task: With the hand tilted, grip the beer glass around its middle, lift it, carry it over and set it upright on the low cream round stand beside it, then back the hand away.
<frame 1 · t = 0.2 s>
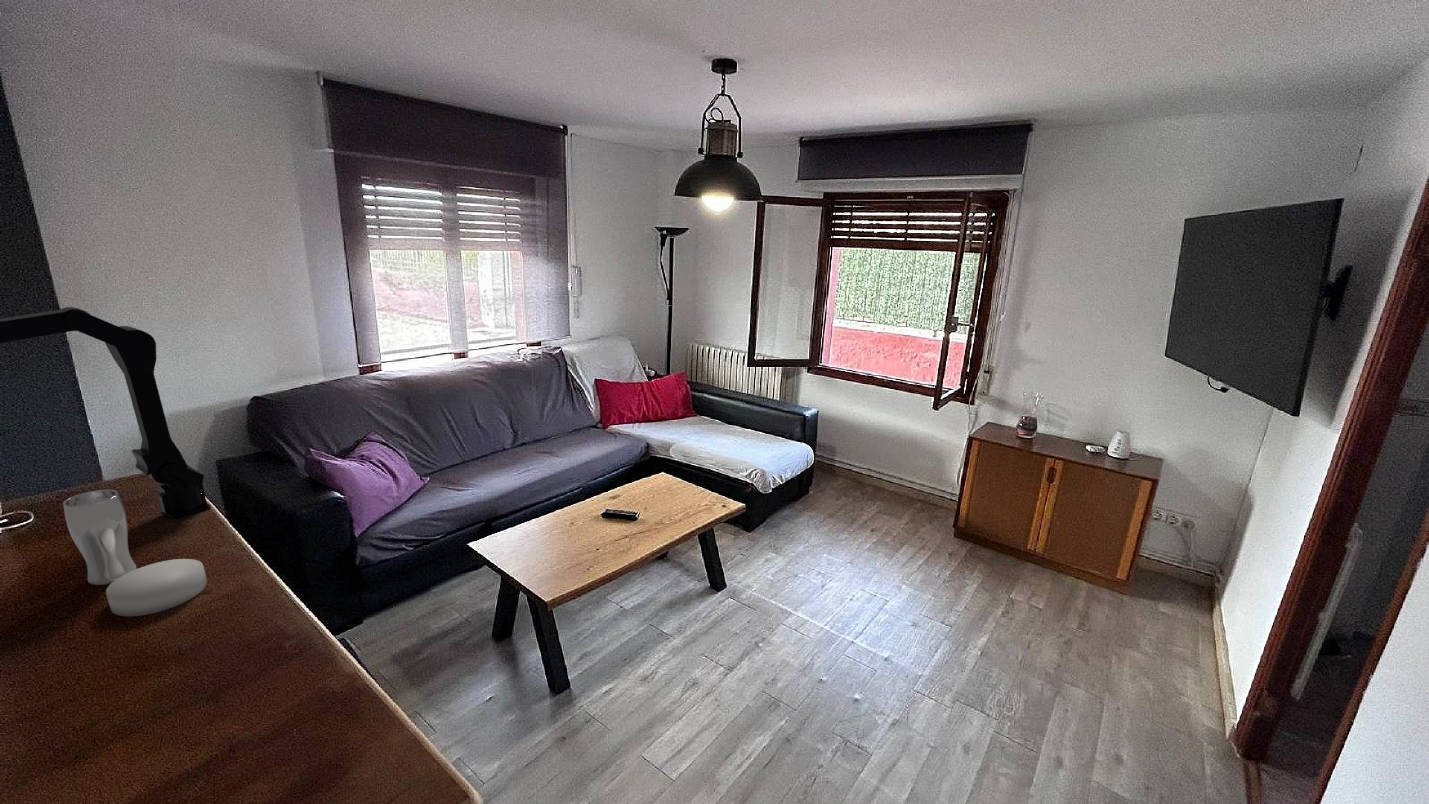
beer glass: (113, 576, 104), on the table
cream stand: (160, 593, 99), on the table
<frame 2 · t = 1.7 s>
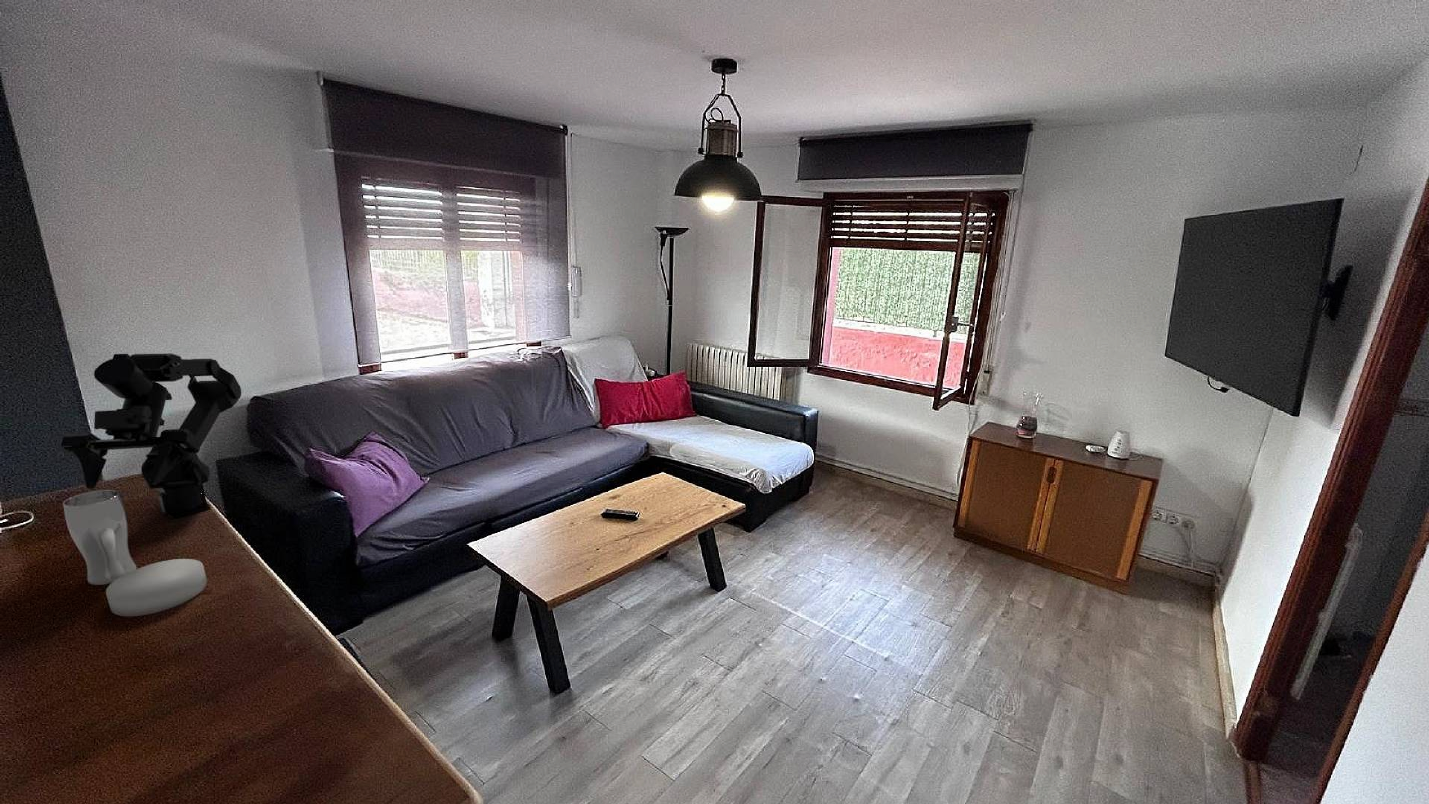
hand: (121, 486, 107), 13 cm above the table, tool tilted 45°, fingers open, 9 cm apart
nothing on the table moved.
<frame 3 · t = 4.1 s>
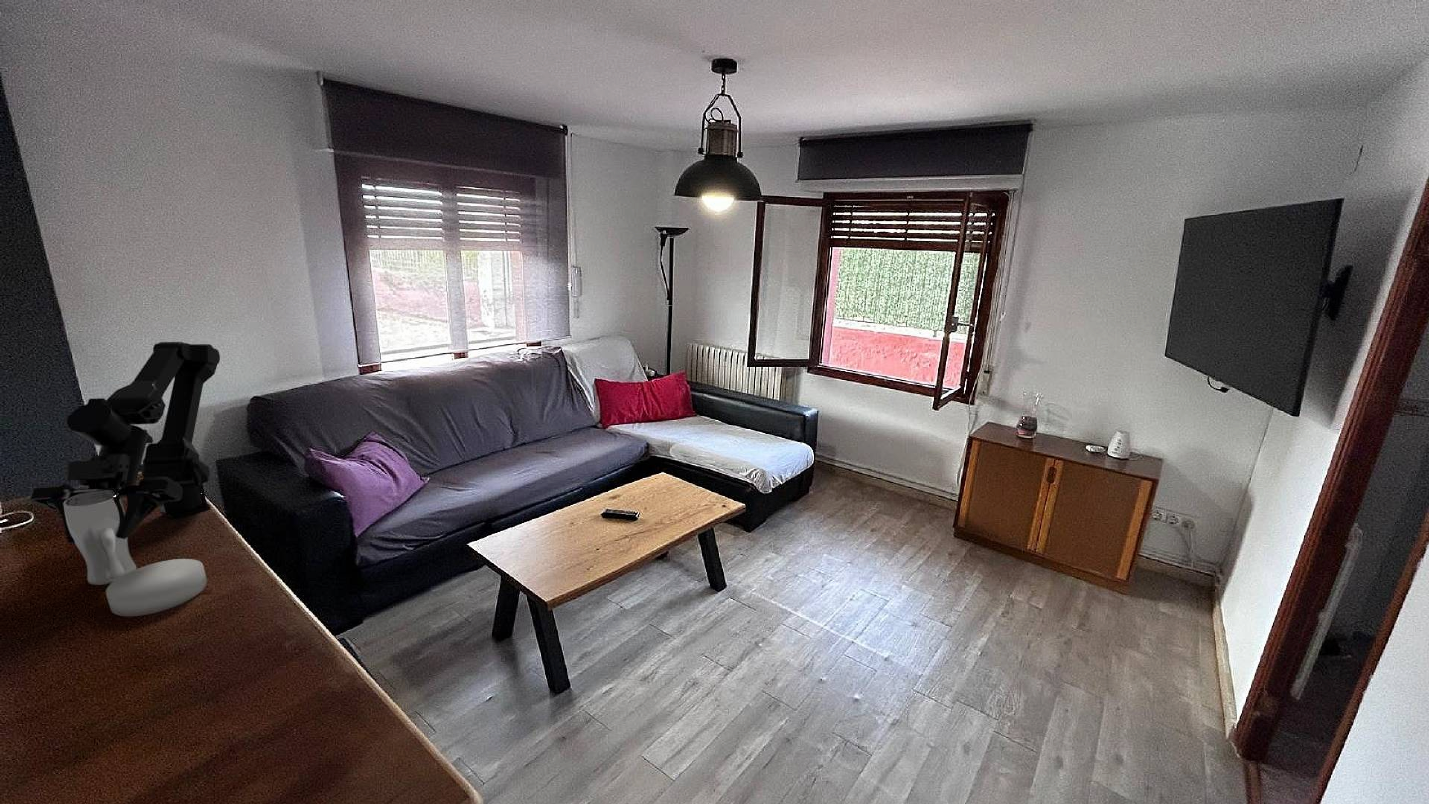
hand: (96, 540, 100), 8 cm above the table, tool tilted 45°, fingers closed on beer glass, 6 cm apart
beer glass: (113, 576, 104), on the table, touching gripper
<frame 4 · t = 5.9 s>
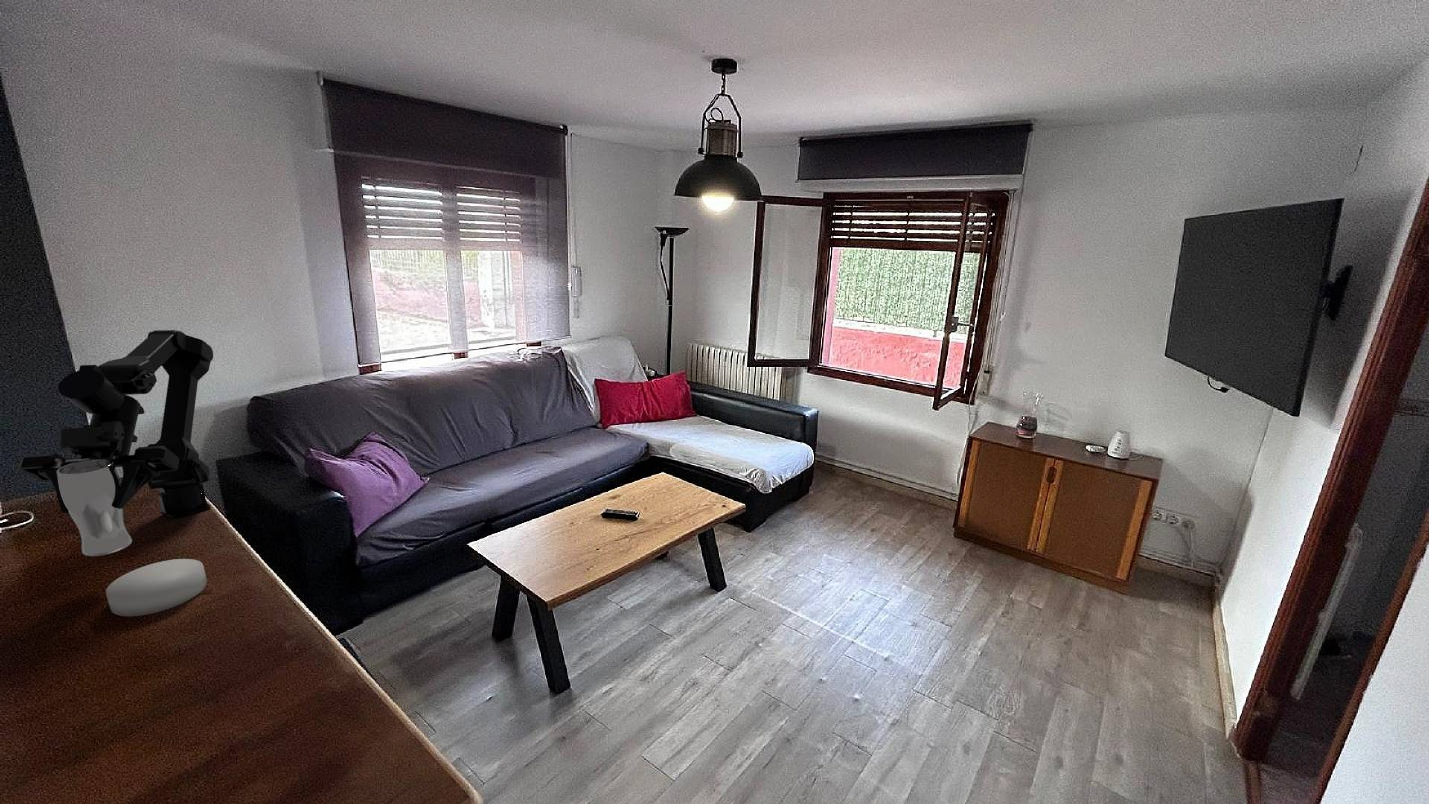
hand: (92, 510, 97), 14 cm above the table, tool tilted 45°, fingers closed on beer glass, 6 cm apart
beer glass: (108, 547, 101), point 6 cm above the table, touching gripper
when the fingers open (11 cm above the table, at t = 7.7 s): beer glass stays where it is, resting on cream stand.
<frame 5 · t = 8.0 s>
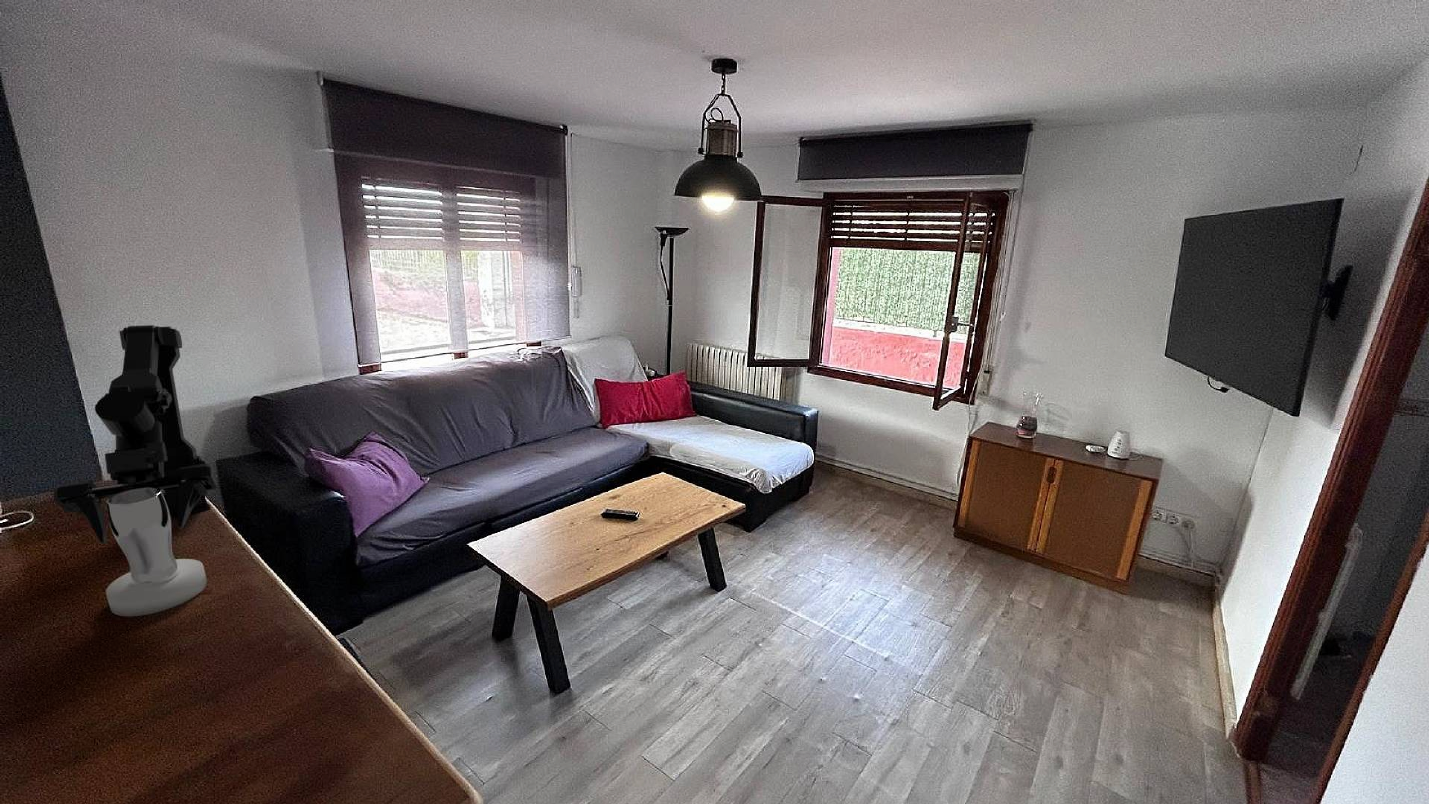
hand: (142, 535, 95), 12 cm above the table, tool tilted 45°, fingers open, 9 cm apart
beer glass: (156, 577, 99), point 3 cm above the table, touching cream stand
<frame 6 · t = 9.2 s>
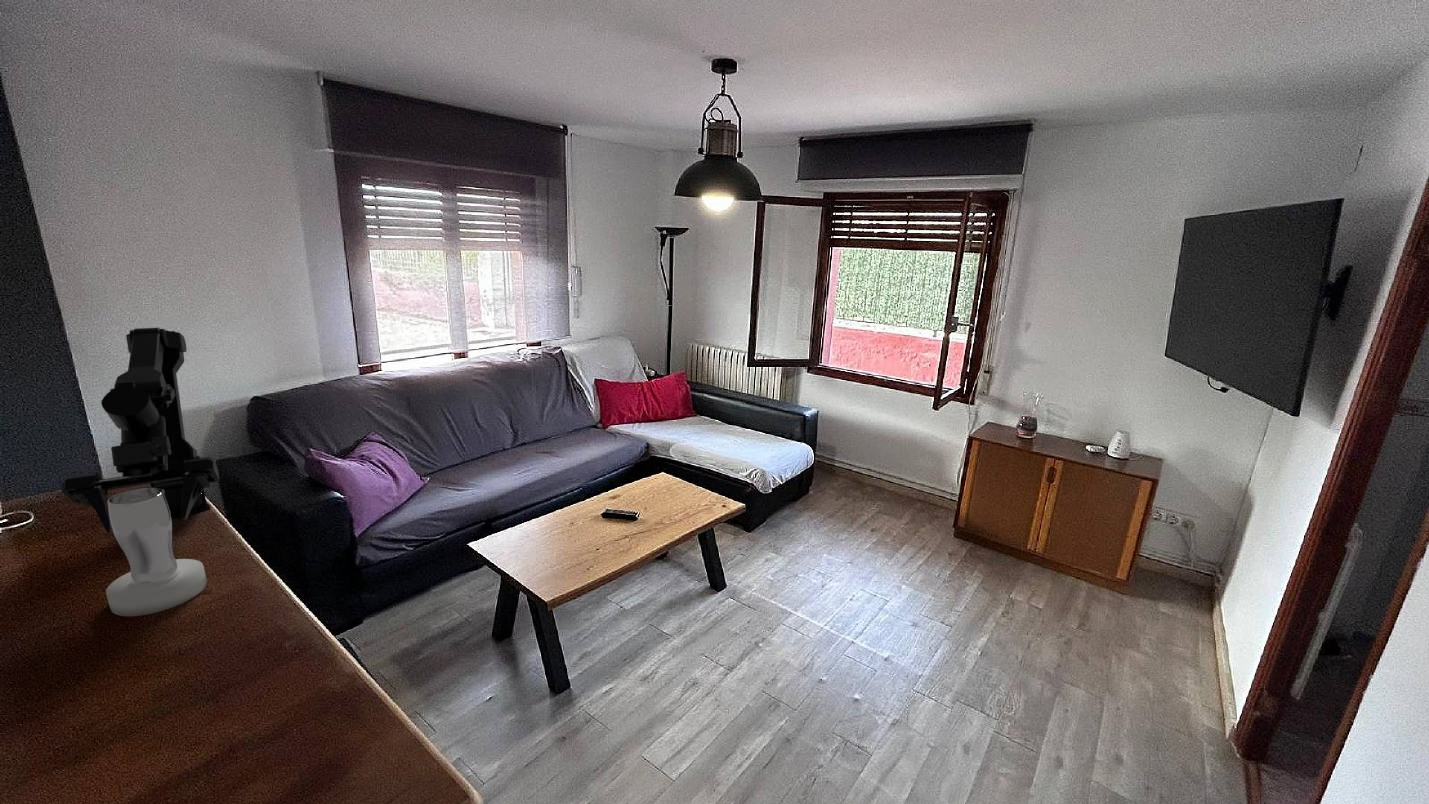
hand: (147, 525, 98), 11 cm above the table, tool tilted 45°, fingers open, 9 cm apart
nothing on the table moved.
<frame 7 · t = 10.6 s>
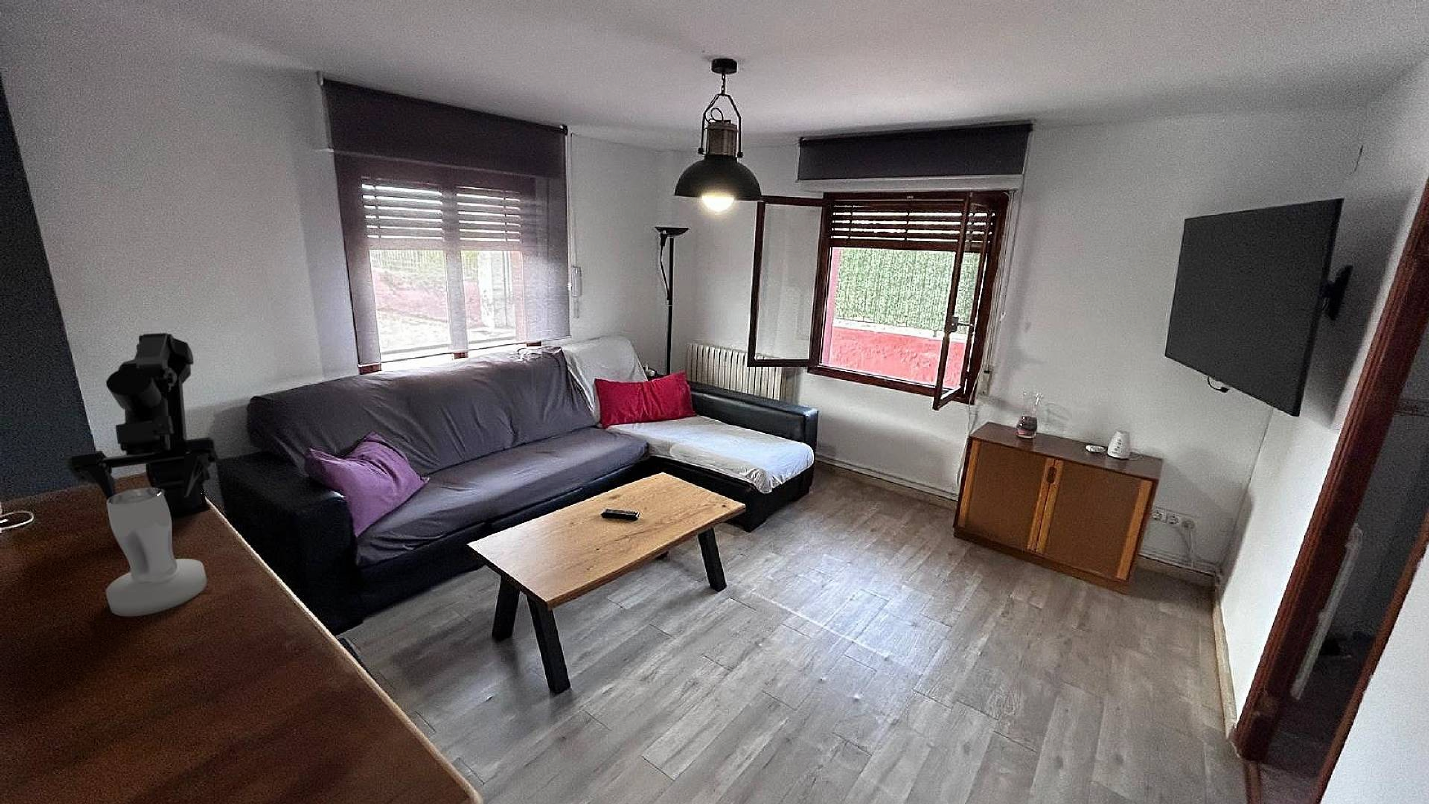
hand: (150, 502, 102), 14 cm above the table, tool tilted 45°, fingers open, 9 cm apart
nothing on the table moved.
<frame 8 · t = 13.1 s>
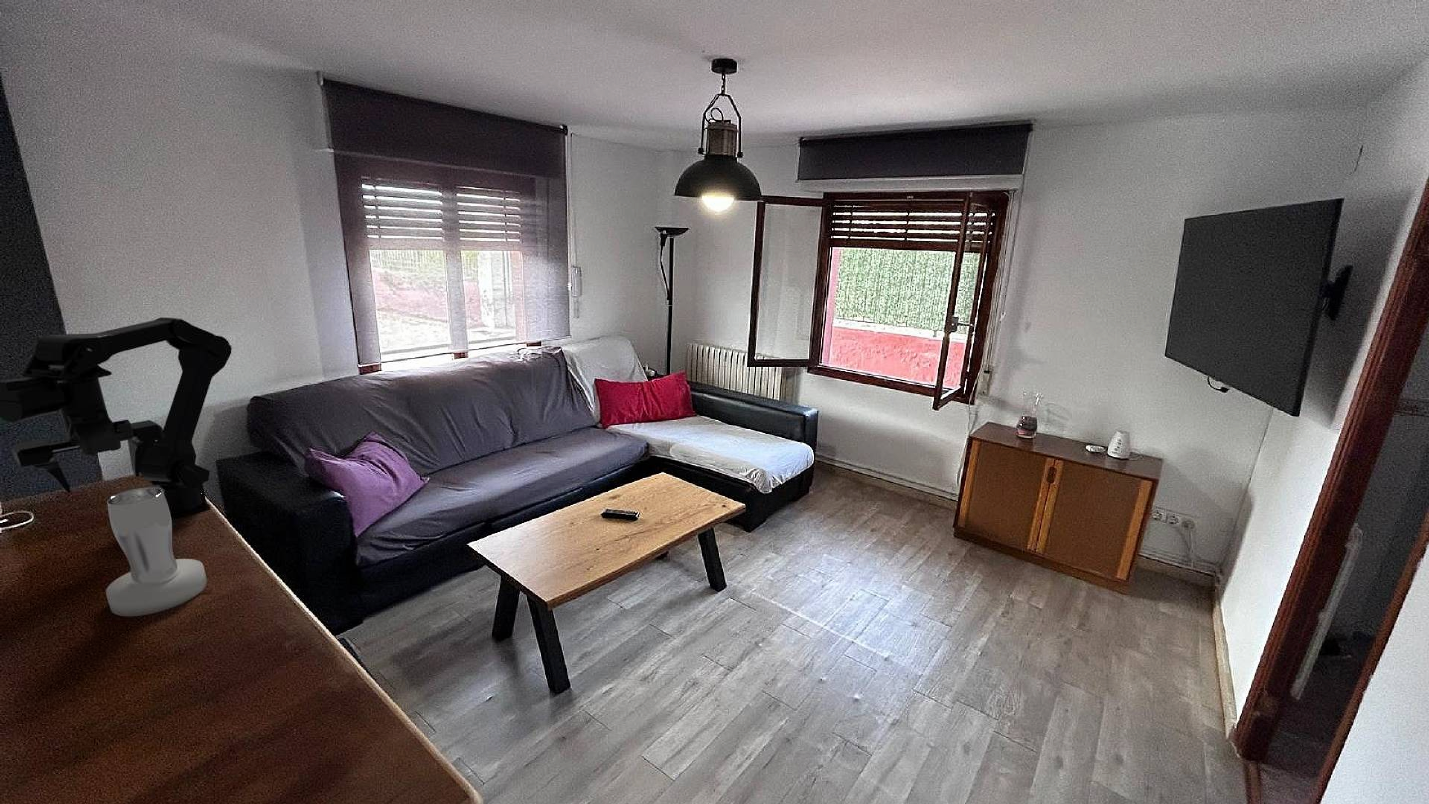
hand: (104, 484, 111), 12 cm above the table, tool pointing down, fingers open, 9 cm apart
nothing on the table moved.
at the end: beer glass 0.5 cm off-centre on the cream stand, point 2.8 cm above the cream stand's base; beer glass tilted 0°; the gripper is holding nothing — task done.
